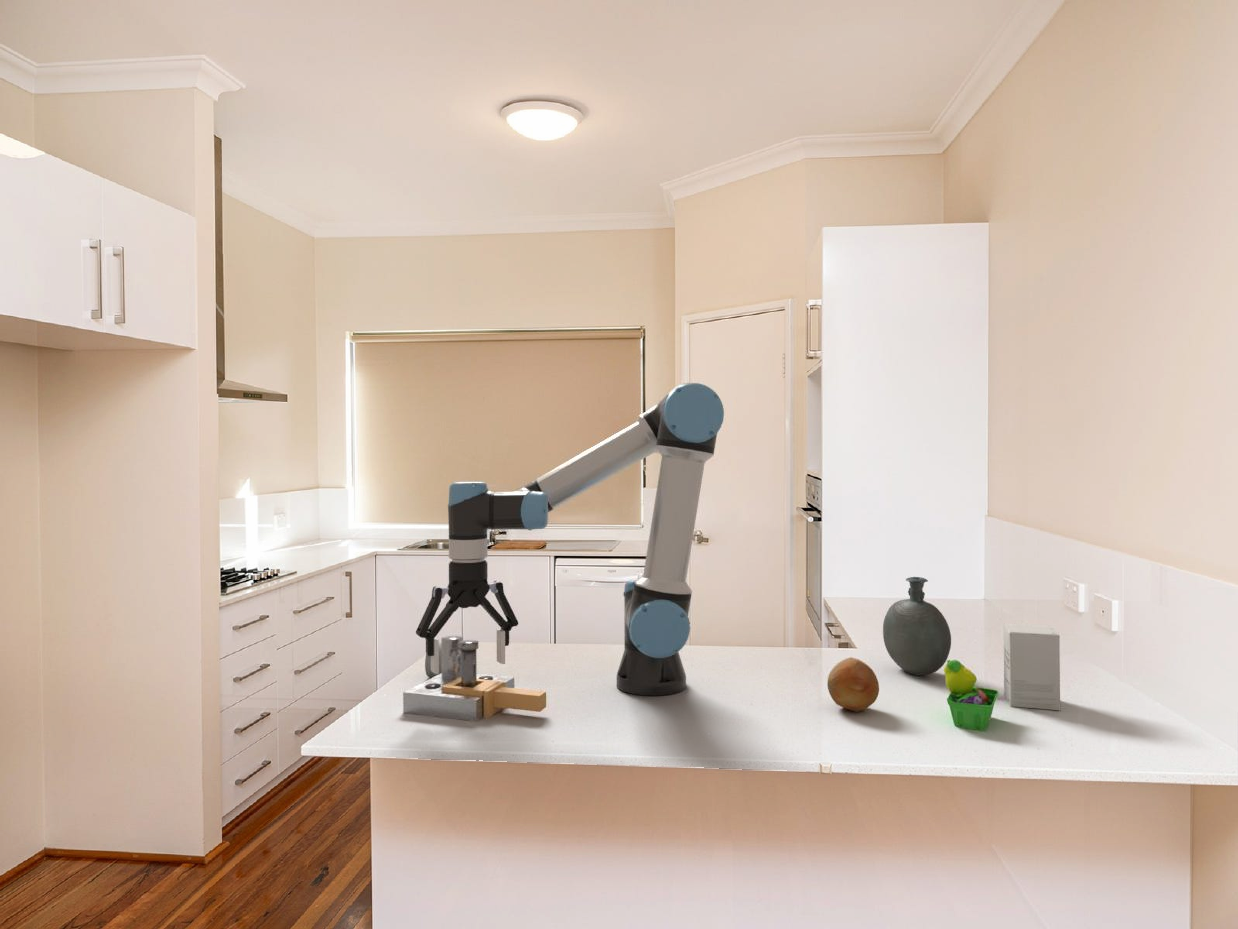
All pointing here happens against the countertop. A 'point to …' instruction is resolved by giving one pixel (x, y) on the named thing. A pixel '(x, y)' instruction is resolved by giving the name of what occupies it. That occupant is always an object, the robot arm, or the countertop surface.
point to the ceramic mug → (428, 663)
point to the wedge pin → (468, 663)
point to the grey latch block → (444, 704)
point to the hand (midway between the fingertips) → (468, 667)
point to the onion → (853, 685)
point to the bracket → (500, 696)
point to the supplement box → (1032, 666)
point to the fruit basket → (968, 698)
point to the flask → (916, 632)
